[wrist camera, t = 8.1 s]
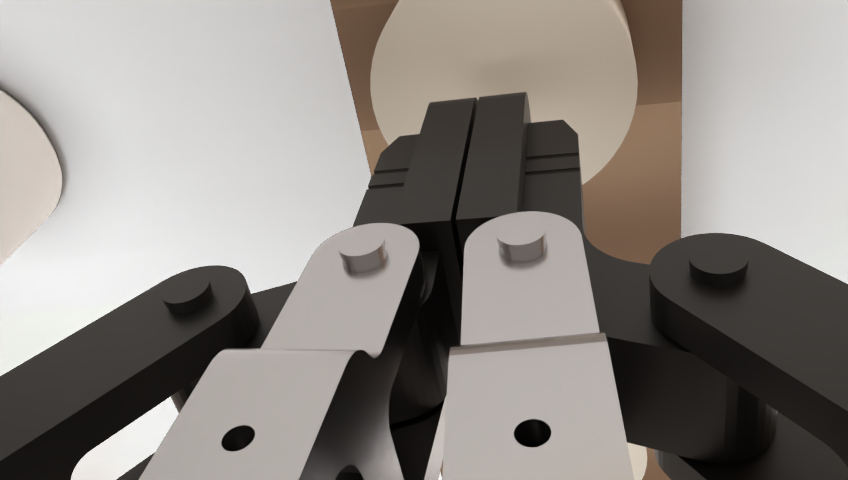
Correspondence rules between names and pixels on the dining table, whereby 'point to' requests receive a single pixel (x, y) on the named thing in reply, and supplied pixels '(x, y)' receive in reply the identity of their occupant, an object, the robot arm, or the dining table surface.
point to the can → (24, 175)
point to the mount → (626, 171)
